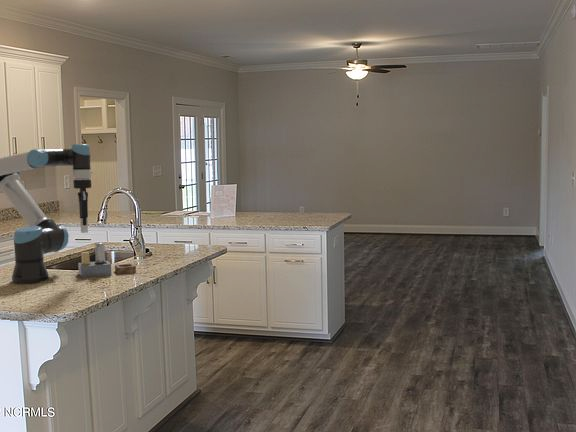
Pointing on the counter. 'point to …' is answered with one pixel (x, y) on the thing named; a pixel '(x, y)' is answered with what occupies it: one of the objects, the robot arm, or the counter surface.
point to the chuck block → (94, 269)
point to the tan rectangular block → (85, 258)
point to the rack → (125, 269)
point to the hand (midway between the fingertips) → (84, 232)
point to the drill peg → (100, 253)
